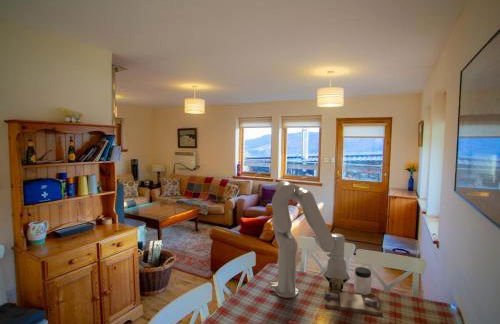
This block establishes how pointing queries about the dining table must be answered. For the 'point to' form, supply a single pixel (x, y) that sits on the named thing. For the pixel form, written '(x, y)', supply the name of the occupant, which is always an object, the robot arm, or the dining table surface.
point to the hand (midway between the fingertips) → (335, 289)
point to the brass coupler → (336, 285)
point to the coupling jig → (352, 302)
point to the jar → (362, 280)
